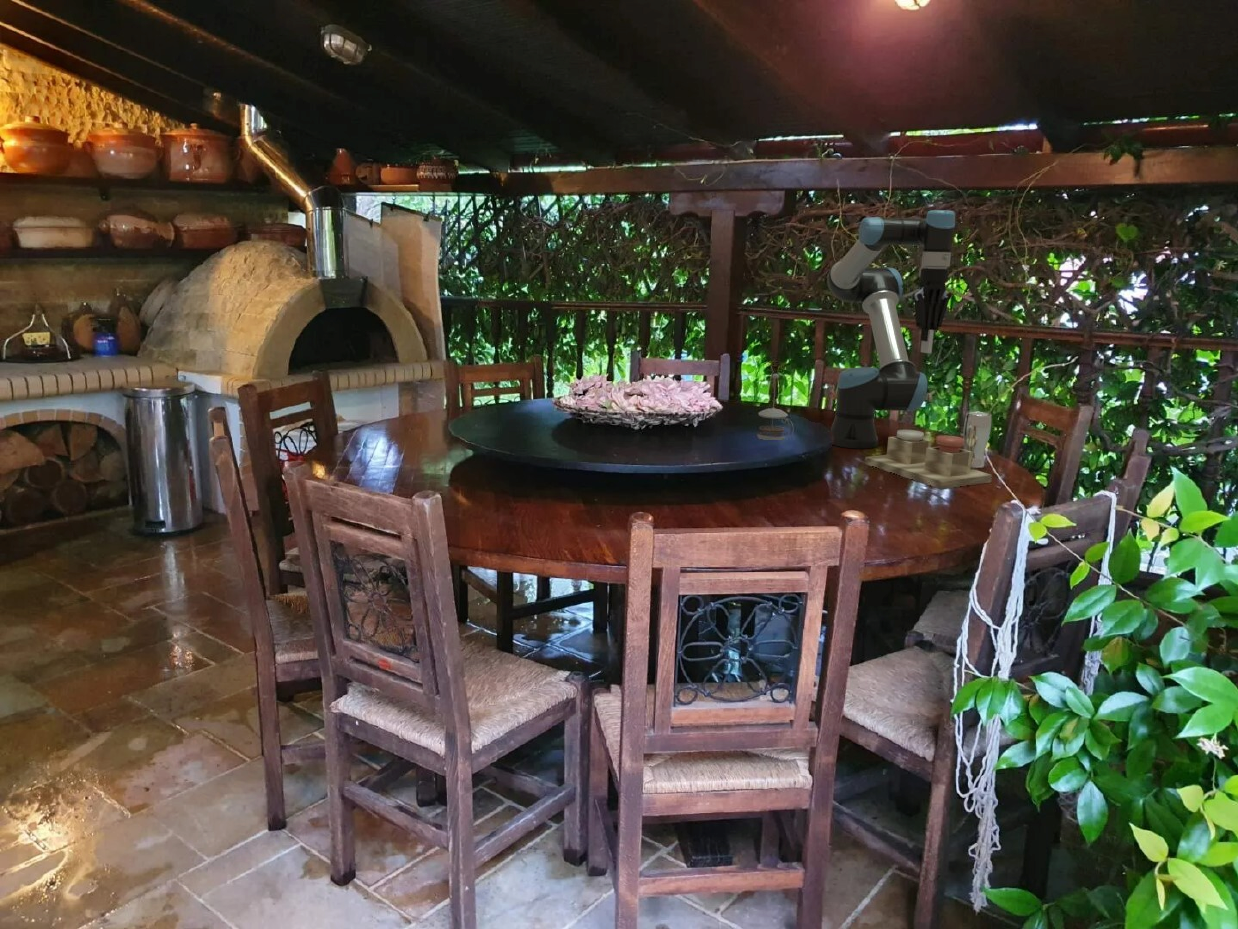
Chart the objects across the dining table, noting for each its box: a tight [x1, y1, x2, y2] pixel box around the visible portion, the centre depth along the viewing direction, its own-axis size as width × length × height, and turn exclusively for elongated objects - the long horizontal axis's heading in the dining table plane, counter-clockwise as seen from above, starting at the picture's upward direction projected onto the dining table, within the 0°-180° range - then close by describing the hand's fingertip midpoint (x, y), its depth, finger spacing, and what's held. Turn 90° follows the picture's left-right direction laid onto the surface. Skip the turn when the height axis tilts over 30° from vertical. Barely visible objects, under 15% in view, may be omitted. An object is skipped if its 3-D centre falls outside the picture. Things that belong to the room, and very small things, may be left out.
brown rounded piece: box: [935, 434, 965, 453], centre depth 231 cm, size 7×7×7 cm
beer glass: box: [963, 410, 993, 469], centre depth 247 cm, size 7×7×15 cm
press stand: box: [864, 435, 993, 490], centre depth 238 cm, size 28×18×8 cm, turn 27°
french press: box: [757, 373, 794, 441], centre depth 244 cm, size 10×12×25 cm
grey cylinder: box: [896, 429, 925, 442], centre depth 244 cm, size 7×7×7 cm
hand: (925, 352), depth 251 cm, fingers closed
